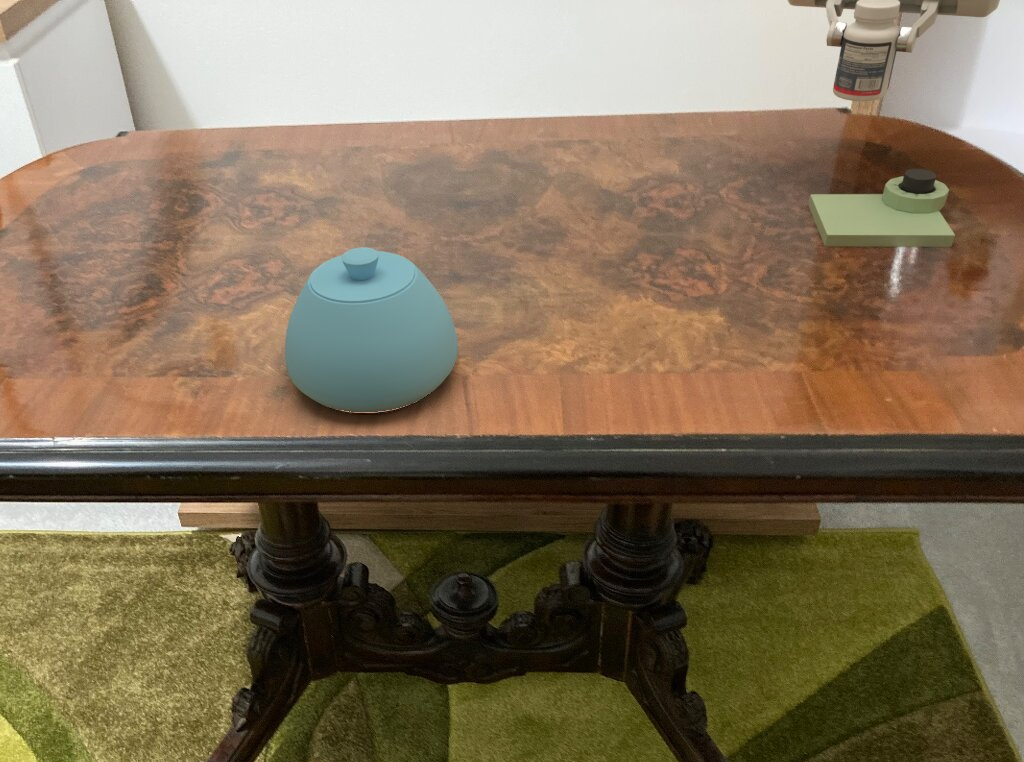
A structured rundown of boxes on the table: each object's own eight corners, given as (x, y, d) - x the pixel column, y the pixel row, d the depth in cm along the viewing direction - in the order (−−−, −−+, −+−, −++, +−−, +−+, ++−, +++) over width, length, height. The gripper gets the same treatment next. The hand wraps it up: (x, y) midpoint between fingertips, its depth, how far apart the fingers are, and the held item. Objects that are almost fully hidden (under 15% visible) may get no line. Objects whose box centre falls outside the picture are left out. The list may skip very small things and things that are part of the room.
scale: (931, 202, 100) (939, 175, 98) (961, 248, 91) (970, 219, 90) (806, 202, 102) (811, 176, 100) (824, 247, 94) (830, 219, 92)
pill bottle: (849, 82, 99) (868, -8, 93) (896, 92, 95) (918, -1, 90) (821, 95, 96) (839, 4, 91) (868, 106, 93) (889, 11, 87)
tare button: (927, 184, 97) (932, 168, 96) (935, 195, 95) (940, 179, 94) (897, 184, 98) (901, 168, 97) (904, 196, 96) (908, 179, 94)
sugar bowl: (270, 421, 77) (243, 299, 69) (311, 327, 88) (292, 214, 81) (448, 426, 74) (440, 300, 67) (467, 329, 86) (462, 213, 79)
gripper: (804, -106, 94) (761, 21, 94) (1032, -104, 85) (984, 36, 85) (808, -66, 100) (767, 54, 100) (1022, -60, 91) (977, 72, 91)
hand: (868, 46), depth 92 cm, fingers closed on pill bottle, 5 cm apart
